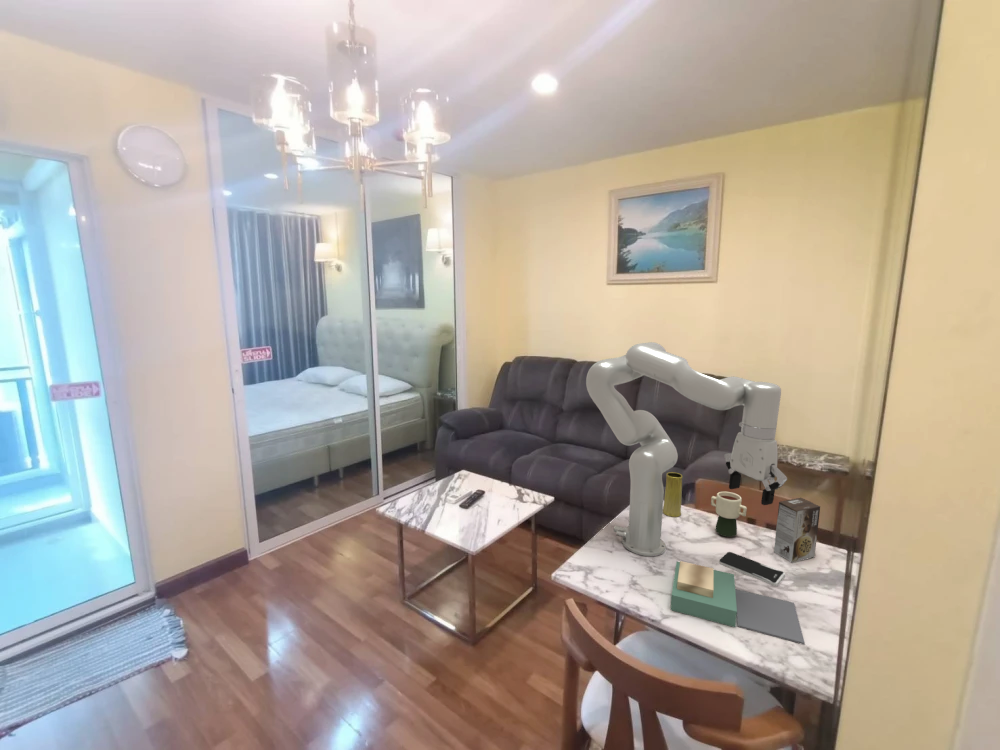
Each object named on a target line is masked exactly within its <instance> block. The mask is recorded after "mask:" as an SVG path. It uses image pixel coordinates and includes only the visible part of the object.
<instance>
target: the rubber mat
mask: <svg viewBox="0 0 1000 750" xmlns="http://www.w3.org/2000/svg"><path fill="white" fill-rule="evenodd" d="M735 593H736V606H737V615H736V623H737V624H736V625H737V628H741V629H745V630H748V631H752V632H756V633H759V634H762V635H768V636H772V637H774V638H779V639H783V640H786V641H790V642H793V643H797V644H800V643H801V644H800V645H805V644H806V642H805V638H804V635H803V631H802V628H801V624H800V623H801V622H800V621H799V620H800V619H799V617H798V613H797V607H796V606H795V602H793V601H788V600H785V599H780V598H776V597H772V596H768V595H764V594H759V593H755V592H751V591H747V590H742V589H738V588H735Z"/></svg>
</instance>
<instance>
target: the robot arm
mask: <svg viewBox="0 0 1000 750" xmlns="http://www.w3.org/2000/svg"><path fill="white" fill-rule="evenodd" d="M587 371H588V372H587V374H586V380H585V384H586V385H585V386H586V390H587V392H588V394H589V397H590V399H592V402H593V403H594V404H595V405H596V407H597V408H598V409H599V411H600V413H601V414H602V416H603V418H604V420H605V421H606V423H607V424H608V426H609V427H610V429H611V431H612V432H613V434H614V436H615V437H616V439H617V440H618V441H619V443H621V444H622V445H624V446H634V445H637V444H639V445H640V446H639V447H638V448H636V449H635V450H634V451H633V452H632V453H631V455H630V456H629V457H630V458H629V461H628V468H629V477H630V478H629V479H630V487H629V488H630V491H629V492H630V493H629V512H628V513H629V514H628V525H627V526H625V527H623V526H620V525H614V527H613V532H614V533H616V536H618V537H622V541H621V542H622V545H623V546H624V548H625V549H626V550H628V551H630V552H632V553H633V554H636V555H639V556H644V557H656V556H660V555H663V553H664V554H665V551H666V548H667V547H666V543H665V541H664V540H663V539H662V524H663V507H664V497H665V491H664V490H665V488H664V482H663V474H664V473H665V472H667V471H669V470H671V469H672V468H673V467H674V466H675V465H676V464H677V462H678V458H679V457H678V456H679V454H678V451H677V447H676V446H675V444H674V443H673V441H672V440H671V438H670V436H669V435H668V434H667V432H666V431H665V429H664V428H663V426H662V424H661V423H660V422H659V420H658V419H657V418H656V417H655V416H654V414H652V413H651V412H649V411H647V410H643V409H636V410H634V409H633V408H632V407H631V406H630V404H629V402H628V400H627V399H626V398H625V396H623V395H622V393H620V392H619V391H618V390H617V389H616V388H615V386H618V385H622V384H625V383H629V382H632V381H635V379H638V378H641V377H643V376H645V377H648V378H649V379H653V380H655V381H658V382H660V383H663V384H665V385H667V386H669V387H672V388H673V389H674V390H675V391H676V392H678V393H679V394H680V395H682V396H683V397H685V398H687V399H689V400H690V401H693V402H695V403H697V404H700V405H703V406H704V407H707V408H710V409H712V410H716V411H717V410H718V411H726V410H730V409H732V408H734V407H738V406H743V412H742V420H741V421H740V422H739V423H738V426H739V427H740V428H741V429H740V431H739V432H738V433H737V434H736V437H735V440H734V442H733V446H732V451H731V452H728V453H724V455H723V457H724V459H725V465H726V467H727V469H728V470H727V471H728V474H729V483H728V489H730V490H736V489H739V488H741V479H742V477H741V476H742V475H744V476H746V477H749V478H751V479H753V480H756V481H758V482H759V481H760V482H762V484H763V486H764V489H762V494H761V501H760V503H761V505H763V506H768V505H772V504H773V503H774V499H775V491H776V490H778V489H780V488H781V487H783V486H784V484H785V483H786V481H788V477H787V476H786V475H785V473H784V472H782V471H781V470H780V468H778V454H779V453H778V443H777V442H778V440H776V435H777V433H776V432H777V431H776V430H777V427H778V426H777V425H778V417H779V411H780V403H781V396H782V388H781V387H780V385H778V384H775V383H774V382H773V383H772V382H768V381H767V382H766V381H754V380H749V379H746V378H743V377H738V376H728V377H724V378H721V379H717V378H714V377H712V376H710V375H706V374H704V373H702V372H699V371H697V370H695V369H693V368H692V367H691V365H690V364H689V361H688V359H686V358H684V356H683V357H682V356H680V355H677V354H674V353H671V352H668V351H666V349H665V347H663V346H662V345H661V344H660V343H657V342H652V341H651V342H650V341H649V342H642V343H641V342H640V343H637V344H633V345H632V346H631V347H629V349H628V350H627V351H626V353H625V354H624V355H622V356H619V357H613V358H606V359H602V360H598V361H597V362H595V363H593V364H592V366H591V367H590V368H589V369H588V370H587ZM775 478H776V480H775Z"/></svg>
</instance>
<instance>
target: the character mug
mask: <svg viewBox="0 0 1000 750" xmlns="http://www.w3.org/2000/svg"><path fill="white" fill-rule="evenodd" d="M710 498H711V501H710V505H711V506H712V507H715V512H716V514H717V515H718V517H717V520H716V524H715V528H714V529H715V532H716V533H717V534H718V535H720V536H723V537H728V538H729V537H736V536H737V534H738V526H737V525H738V524H737V519H739V517H740V516H741V517H746V516H747V511H748V508H747V506H745V505H742V497H741V495H739V494H737V493H735V492H732V491H731V492H730V491H719V492H717V493H716V496H714V495H712V496H711V497H710ZM741 509H742V511H741Z"/></svg>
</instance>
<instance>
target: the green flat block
mask: <svg viewBox="0 0 1000 750" xmlns="http://www.w3.org/2000/svg"><path fill="white" fill-rule="evenodd" d="M679 567H680V561H676V563H675V569H674V574H673V575H674V576H673V582H672V588H671V589H672V590H671V598H670V611H673V612H676V613H680V614H684V615H688V616H690V617H691V616H692V617H696V618H699V619H703V620H707V621H710V622H714V623H717V624H721V625H725V626H729V627H733V628H736V625H737V624H736V623H737V606H736V593H735V589H736V583H735V574H734V573H730V572H725V571H722V570H716V569H714V578H713V598H711V597H707V596H703V595H699V594H695V593H691V592H687V591H683V590H679V589H677V582H678V574H679Z"/></svg>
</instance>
